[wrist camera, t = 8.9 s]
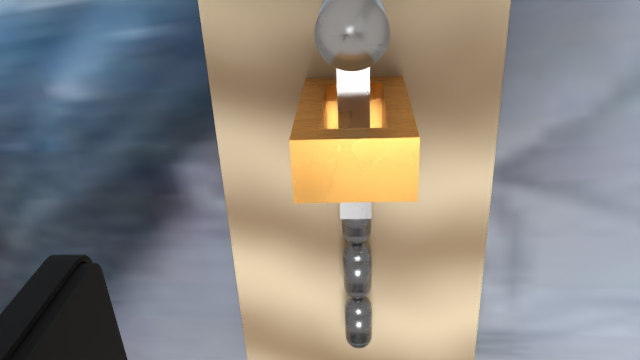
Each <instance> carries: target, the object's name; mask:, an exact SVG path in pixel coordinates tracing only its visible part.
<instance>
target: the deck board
mask: <svg viewBox="0 0 640 360" xmlns="http://www.w3.org/2000/svg"><path fill="white" fill-rule="evenodd" d="M382 1H383V5H384V8H385V12H386V15H387V19H388V22H389V27H390V39H389V43H388V46H387V49H386V51H385V53H384V54H383V56H382V57H381V58H380V59H379V60H378V61H377V62H376V63H375V64H373V65H372V66H370V77H379V76H403V78H404V82H405V85H406V89H407V93H408V96H409V100H410V103H411V107H412V111H413V114H414V118H415V121H416V125H417V129H418V132H419V136H420V150H419V177H418V202H371V234H370V236H369V238H368V239H367V240H366V241H365V242H366V243H367V244H368V245H369V247H370V249H371V257H372V286H371V290H370V292H369V294H368V295H367V297H368V298H369V299H370V301H371V305H372V339H371V341H370V343H369V344H368V345H367V346H366V347H364V348H354V347H352V346H351V345H350V344H349V343H348V342H347V340H346V335H345V302H346V299H347V298H348V297H349V295H348V294H347V293H346V291H345V289H344V277H343V249H344V247H345V245H346V244H347V243H348V241H347V240H346V239H345V237H344V236H343V233H342V219H340V203H294V199H293V186H292V173H291V160H290V147H289V138H290V135H291V131H292V127H293V123H294V119H295V115H296V112H297V108H298V104H299V100H300V96H301V92H302V89H303V85H304V81H305V79H312V78H337V74H336V68H335V67H333V66H331V65H330V64H329V63H327V62H326V61H325V60H324V59H323V57H322V56H321V55H320V53H319V51H318V49H317V47H316V43H315V37H314V30H315V25H316V21H317V18H318V14H319V11H320V7H321V4H322V0H198V5H199V13H200V20H201V27H202V34H203V42H204V49H205V56H206V63H207V70H208V78H209V85H210V92H211V99H212V107H213V114H214V121H215V128H216V135H217V143H218V150H219V157H220V164H221V172H222V179H223V186H224V193H225V200H226V208H227V215H228V222H229V229H230V237H231V244H232V251H233V258H234V265H235V273H236V280H237V287H238V294H239V302H240V309H241V316H242V323H243V330H244V338H245V345H246V352H247V359H248V360H474V356H475V346H476V336H477V327H478V317H479V307H480V297H481V288H482V278H483V268H484V258H485V249H486V239H487V229H488V219H489V210H490V200H491V190H492V180H493V171H494V161H495V151H496V141H497V132H498V122H499V112H500V102H501V92H502V83H503V73H504V63H505V53H506V44H507V34H508V24H509V14H510V5H511V0H382Z"/></svg>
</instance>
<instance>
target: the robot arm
mask: <svg viewBox="0 0 640 360" xmlns="http://www.w3.org/2000/svg"><path fill="white" fill-rule="evenodd" d="M0 360H127V357H126V353H125V350H124V346H123V342H122V339H121V335H120V332H119V328H118V325H117V321H116V318H115V314H114V311H113V307H112V304H111V300H110V297H109V293H108V290H107V286H106V283H105V279H104V276H103V272H102V269H101V267H100V266H99V265H98V264H96V263H92V261H91V259H90V258H89V257H88V256H86V255H52V256H49V257H48V258H47V259H46V260H45V261H44V262H43V264H42V265H41V266H40V267H39V269H38V270H37V271H36V272H35V273H34V275H33V276H32V277H31V278H30V279H29V281H28V282H27V283H26V284H25V285H24V287H23V288H22V289H21V290H20V291H19V293H18V294H17V295H16V296H15V297H14V299H13V300H12V301H11V302H10V303H9V305H8V306H7V307H6V308H5V310H4V311H3V312H2V313H1V314H0Z"/></svg>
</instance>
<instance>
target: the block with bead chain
mask: <svg viewBox="0 0 640 360" xmlns="http://www.w3.org/2000/svg"><path fill="white" fill-rule="evenodd" d="M289 147H290V160H291V173H292V186H293V199H294V203H351V202H418V177H419V150H420V136H419V132H418V129H417V125H416V121H415V118H414V114H413V111H412V107H411V103H410V100H409V96H408V93H407V89H406V85H405V82H404V78H403V76H379V77H370V128H342V129H338V104H337V78H312V79H305V81H304V85H303V89H302V92H301V96H300V100H299V104H298V108H297V112H296V115H295V119H294V123H293V127H292V131H291V135H290V138H289ZM342 233H343V236H344V237H345V239H346V240H347V241H348V243H347V244H346V245H345V247H344V249H343V277H344V289H345V291H346V293H347V294H348V295H349V297H348V298H347V299H346V302H345V335H346V340H347V342H348V343H349V344H350V345H351V346H352V347H354V348H364V347H366V346H367V345H368V344H369V343H370V341H371V339H372V305H371V301H370V299H369V298H368V297H367V295H368V294H369V292H370V290H371V286H372V257H371V249H370V247H369V245H368V244H367V243H366V242H365V241H366V240H367V239H368V238H369V236H370V234H371V219H342Z"/></svg>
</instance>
